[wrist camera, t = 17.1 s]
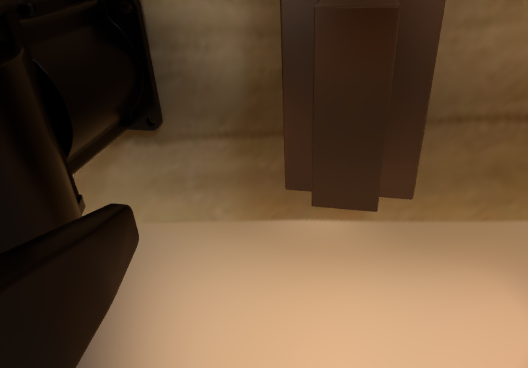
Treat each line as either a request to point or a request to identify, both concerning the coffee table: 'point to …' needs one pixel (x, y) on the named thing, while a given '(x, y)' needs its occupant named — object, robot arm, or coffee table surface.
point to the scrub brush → (356, 96)
